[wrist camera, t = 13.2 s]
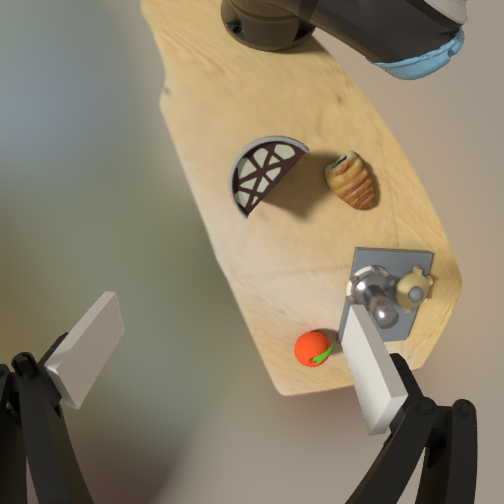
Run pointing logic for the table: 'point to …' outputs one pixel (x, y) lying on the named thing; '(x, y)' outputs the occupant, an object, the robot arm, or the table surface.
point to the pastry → (351, 181)
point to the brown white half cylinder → (261, 169)
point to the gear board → (402, 292)
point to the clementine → (312, 349)
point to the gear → (374, 296)
